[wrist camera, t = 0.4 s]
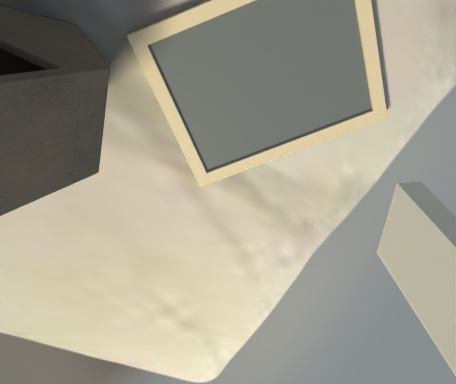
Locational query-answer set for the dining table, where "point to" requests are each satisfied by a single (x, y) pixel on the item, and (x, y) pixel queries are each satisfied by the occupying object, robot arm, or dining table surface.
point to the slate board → (261, 78)
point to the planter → (47, 107)
